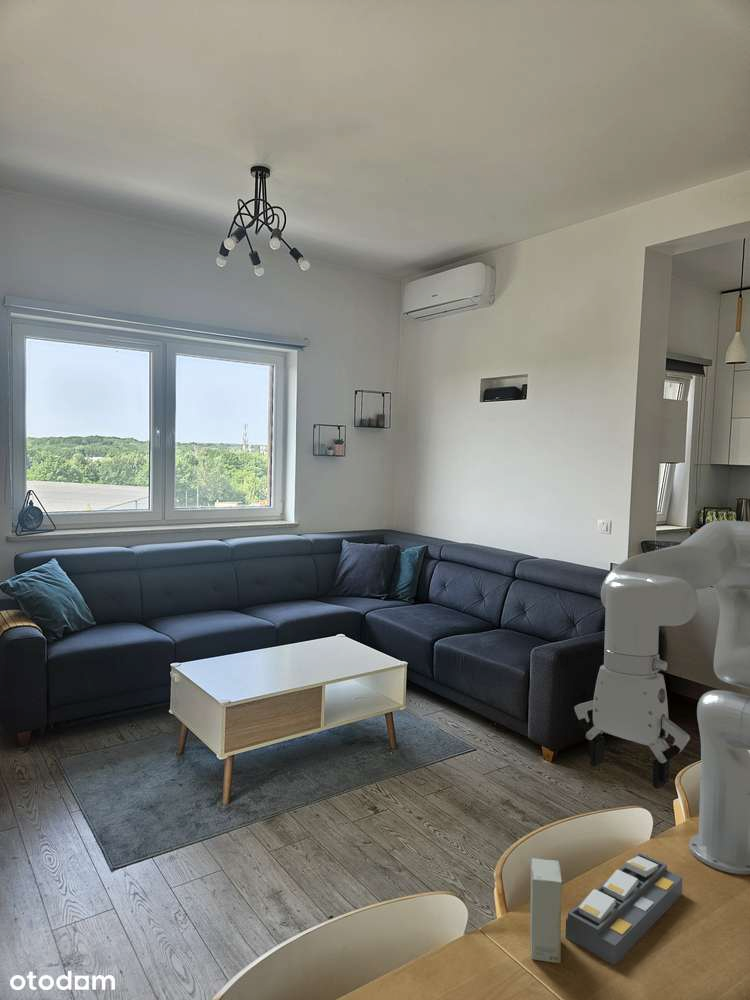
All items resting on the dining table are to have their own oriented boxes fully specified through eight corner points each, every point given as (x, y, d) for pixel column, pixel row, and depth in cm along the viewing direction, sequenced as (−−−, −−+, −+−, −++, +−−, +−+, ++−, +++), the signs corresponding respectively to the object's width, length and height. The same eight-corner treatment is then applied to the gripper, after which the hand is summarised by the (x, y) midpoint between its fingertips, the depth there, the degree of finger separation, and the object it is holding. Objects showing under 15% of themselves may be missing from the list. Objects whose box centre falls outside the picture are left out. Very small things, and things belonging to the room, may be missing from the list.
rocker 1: (594, 894, 106) (594, 888, 105) (615, 904, 103) (615, 898, 103) (578, 912, 102) (578, 906, 102) (600, 924, 100) (600, 918, 99)
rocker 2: (617, 874, 111) (617, 868, 111) (638, 884, 108) (637, 878, 108) (603, 891, 108) (603, 885, 107) (624, 901, 105) (624, 895, 105)
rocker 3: (637, 861, 116) (638, 855, 117) (657, 870, 114) (658, 864, 114) (625, 867, 113) (625, 861, 113) (645, 877, 110) (646, 870, 111)
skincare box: (560, 965, 96) (563, 884, 95) (530, 960, 96) (532, 879, 96) (557, 936, 102) (559, 859, 101) (528, 931, 103) (530, 856, 102)
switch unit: (636, 873, 119) (637, 852, 119) (681, 894, 113) (682, 871, 113) (565, 937, 101) (566, 912, 101) (614, 965, 96) (615, 938, 96)
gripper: (700, 670, 94) (696, 786, 94) (589, 646, 106) (586, 750, 107) (680, 680, 89) (676, 803, 89) (565, 654, 101) (562, 763, 102)
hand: (627, 774), depth 98 cm, fingers open, 9 cm apart
